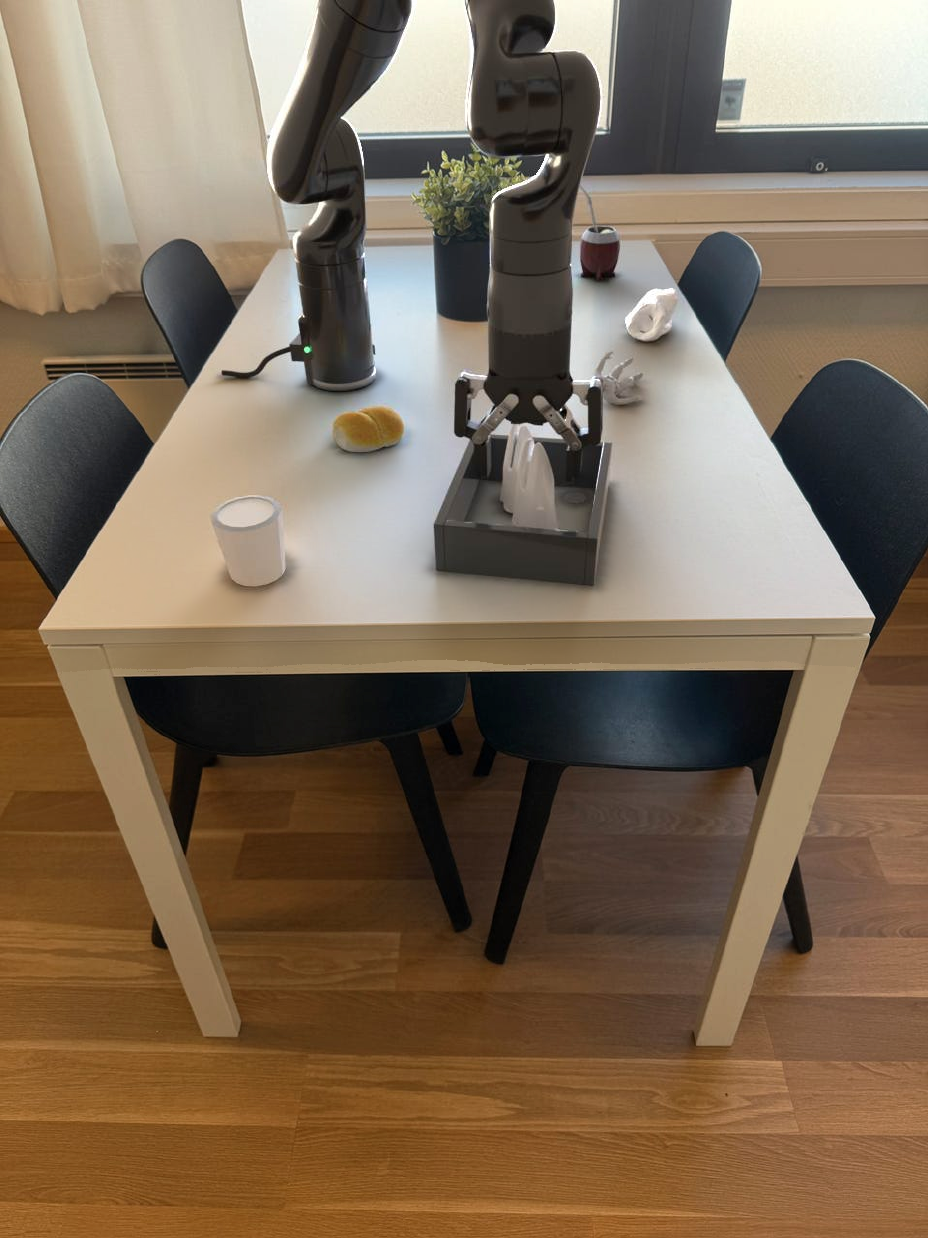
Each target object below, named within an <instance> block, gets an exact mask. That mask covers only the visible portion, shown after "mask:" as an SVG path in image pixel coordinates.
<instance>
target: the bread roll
mask: <svg viewBox="0 0 928 1238" xmlns="http://www.w3.org/2000/svg"><path fill="white" fill-rule="evenodd" d="M404 433H405V425H404V421H403V419H402V417H401V415H400V414H399V413H398V412H397V411H396V410H394V409H392V408H391V407H389V406H385V405H375V406H367V407H363V408H360V409H358V411H345V412H342V413H341V414H339V415H338V416H337V417H336V418H335V420H333V424H332V436H331V438H332V440H333V441H334V442H335V443H336V444H337V446H338V447H339V448H341V449H342V450H345V451H346V452H350V453H369V452H374V451H377V450H379V449H382V448H383V447H386V448H388V447H391V446H394V445H396V444H398V443H399V442H400V441H401V440H402V438H403V436H404Z"/></svg>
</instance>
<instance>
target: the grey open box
mask: <svg viewBox="0 0 928 1238" xmlns="http://www.w3.org/2000/svg"><path fill="white" fill-rule="evenodd" d="M489 436H491V470H490V473H489V476H488V477H481V471H476V469H475V467H474V444H473V442H472V440H470V439H469V440H468V443H467V445H466V447H465V449H464V452H463V454H462V457H461V459H460V462H459V464H458V466H457V468H456V470H455V473H454V475H453V478H452V479H451V483H450V485H449V487H448V489H447V492H446V494H445V496H444V499H443V501H442V503H441V506H440V507H439V511H438V513H437V515H436V518H435V520H434V522H433V540H434V541H433V542H434V558H435V570H436V571H442V572H452V573H463V574H471V575H472V574H473V575H480V576H481V575H482V576H483V575H484V576H492V577H502V578H513V579H522V580H523V579H524V580H534V581H544V582H554V583H555V582H556V583H563V584H564V583H566V584H576V585H584V586H585V585H586V586H594V585H595V580H596V575H597V567H598V561H599V554H600V547H601V542H602V541H601V540H602V534H603V528H604V527H603V526H604V522H605V521H604V520H605V513H606V507H607V500H608V499H607V498H608V493H609V486H610V475H611V465H612V463H611V462H612V453H613V452H612V451H613V442H607V441H601V442H600V443H599V444H598V445H596V446H593V445H587V446H585V447H584V448H583V451H582V467H581V472H580V475H579V477H578V478H574V479H573V483H566V460H567V448H568V445H567V443H566V442H565V441H564V439H563V438H552V437H551V438H550V437H537V436H532V438H533V440H534V444H536V443H541V444H542V446H543V447H544V449H545V452H546V454H547V457H548V459H549V462H550V465H551V469H552V473H553V477H554V486H557V487H569V488H583V489H595V491H594V494H593V495H594V496H593V501H592V507H591V514H590V519H589V526H588V532H586V531H576V530H575V531H574V530H563V529H559V530H553V529H541V528H530V527H518V526H515V525H507V524H506V525H505V524H495V523H494V524H493V523H482V522H472V521H471V522H470V521H465V520H466V517H467V514H468V511H469V509H470V507H471V504H472V501H473V498H474V496H475V493H476V491H477V488H478V485H479V482H480V480H482V481H494V482H503V464H504V458H505V452H506V447H507V442H508V437H509V434H508V435H507V434H495V433H494V434H493V433H491V434H490V435H489ZM564 500H565V501H566V502H567V503H568V504H569V503H570V504H573V505H578V504H582V503H584V502H586V500H587V497H586V495H585V494H584V493H582V492H577V491H572V492H569V493H567V494H565V495H564Z"/></svg>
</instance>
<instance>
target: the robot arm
mask: <svg viewBox="0 0 928 1238" xmlns="http://www.w3.org/2000/svg"><path fill="white" fill-rule="evenodd" d="M462 3H463V9H464V12H465V17H466V20H467V21H466V22H467V25H468V31H469V32H468V33H469V42H470V43H469V44H470V45H469V46H470V61H469V62H470V63H469V64H470V65H469V75H468V82H467V90H466V99H465V122H466V128H467V132H468V135H469V137H470V139H471V141H472V143H473V144H474V146H475V147H476V149H478V150H479V151H480V152H481V153H482V154H484V155H485V156H487V157H488V158H490V159H498V160H499V159H500V160H501V159H516V158H517V159H518V158H528V157H539V156H545V158H544V161H543V163H542V165H541V167H540V169H539V170H538V172H537V173H536V175H534V176H532V177H531V178H530V179H528V180H525V181H523V182H521V183H517V184H515V185H512V186H509V187H507V188H504V189H502V190H501V191H498V192H497V193H496V194H495V195H494V196H493V198H492V199H491V202H490V206H489V207H490V208H489V263H490V264H489V274H488V275H489V276H488V283H487V304H486V317H487V343H488V344H487V347H488V348H487V349H488V350H487V351H488V354H487V355H488V358H487V359H488V372H487V375H486V376H485V375H478V374H477V375H476V374H473V373H472V371H470V370H468V369H463V370H461V372H460V374H459V375H458V377H457V379H456V381H455V383H454V407H453V408H454V410H453V411H454V412H453V413H454V415H453V434H454V435H455V437H457V438H466V439H469V440H472V442H473V444H474V467H475V469H476V471H481V477H488V476H489V473H490V470H491V436H489V435H490V434H493V432H494V431H496V429H497V428H498V427H499V426H500V424H501V423H502V422H503V421H504V420H506V421H508V422H510V424H511V425H512V424H520V425H524V424H529V425H532V426H539V427H543V426H544V424H549V426H550V427H551V428H552V429H553V431H554V432H555V433H556V435H559V436H560V437H561V439H564V441H565V442H566V443H567V445H568V448H567V460H566V483H573V479H574V478H578V477H579V475H580V472H581V467H582V451H583V448H584V447H585V446H587V445H593V446H596V445H598V444H599V443H600V442H602V436H603V430H604V428H603V426H604V398H603V380H602V378H601V377H599V376H595V375H593V376H592V377H590V380H574V379H573V377H572V375H571V371H570V369H571V367H570V366H571V346H572V344H571V343H572V326H573V325H572V324H573V323H572V322H573V300H574V299H573V298H574V286H573V284H574V283H573V275H572V252H573V251H572V250H573V230H574V216H575V209H576V203H577V200H578V197H579V192H580V185H582V180H583V175H584V172H585V169H586V165H587V162H588V159H589V156H590V152H591V149H592V146H593V143H594V140H595V138H596V133H597V129H598V126H599V122H600V117H601V112H602V103H603V102H602V101H603V99H602V98H603V97H602V96H603V95H602V84H601V80H600V76H599V73H598V71H597V68H596V66H595V65H594V63H593V61H592V60H591V58H589V57H588V56H587V55H586V54H585V53H583V52H581V51H579V50H571V49H570V50H554V51H544V50H545V49H546V48H547V47H548V45H549V44H550V43H551V42H552V39H553V38H554V35H555V32H556V27H557V21H558V20H557V19H558V18H557V17H558V15H557V8H556V7H557V5H556V2H555V0H462ZM416 4H417V0H318V2H317V6H316V10H315V14H314V17H313V21H312V25H311V28H310V32H309V35H308V38H307V41H306V43H305V46H304V49H303V53H302V56H301V58H300V61H299V65H298V68H297V70H296V74H295V76H294V79H293V81H292V84H291V86H290V88H289V91H288V93H287V96H286V97H285V100H284V102H283V105H282V107H281V109H280V111H279V114H278V116H277V118H276V120H275V123H274V125H273V127H272V130H271V133H270V136H269V139H268V143H267V150H266V167H267V168H266V169H267V175H268V180H269V183H270V186H271V187H272V190H273V191H274V193H275V194H276V196H277V197H278V198H279V199H280V200H281V201H282V202H284V203H286V204H289V205H292V206H310V205H315V204H318V207H317V209H316V211H315V213H314V214H313V216H312V217H311V218H310V219H309V220H308V222H306V223H305V224H304V225H303V226H301V228H299V229H298V230H297V231H296V232H295V234H294V236H293V237H292V247H293V254H294V255H293V256H294V261H295V268H296V276H297V283H298V290H299V297H300V304H301V312H302V314H301V315H300V316H299V317H298V319H297V323H298V330H299V333H298V334H297V335H296V337H295V338H294V339H292V341H291V342H290V343H289V344H288V345H289V346H286V347H284V348H280V349H278V350H276V351H273V352H271V353H270V354H267V355H266V356H265V357H264V358H263V359H262V360H261V361H260V363H259V365H258V366H256V369H254V370H251V371H247V372H240V371H233V370H227V369H222V370H221V376H225V377H234V378H239V379H249V378H253V377H255V376H258V375H259V374H260V373H261V372H263V370H264V369H265V368H266V366H267V364H268V363H269V362H271V361H272V360H274V359H275V358H277V357H279V356H282V355H285V354H288V353H290V359H291V362H300V363H303V366H304V373H305V374H304V375H305V379H306V380H305V381H306V385H309V386H314V387H317V388H318V389H321V390H324V391H334V392H344V391H353V390H356V389H357V390H358V389H360V388H361V389H362V388H364V387H366V386H368V385H370V384H372V383H373V382H374V381H375V380H376V378H377V373H376V372H377V370H376V365H375V363H376V362H375V356H376V346H375V344H373V343H374V342H373V334H372V323H371V311H370V302H369V301H370V300H369V290H368V279H367V267H366V258H365V257H366V255H365V247H364V246H365V245H364V243H365V238H366V233H367V223H368V222H367V205H366V204H367V201H366V177H365V161H364V154H363V151H362V146H361V142H360V140H359V137H358V134H357V132H356V131H355V128H354V127H353V126H352V124H351V123H350V122H349V121H348V120H347V119H346V118H344V116H345V115H346V114H347V112H348V111H350V110H351V108H352V107H353V106H354V105H355V104H357V102H358V101H359V100H361V99H362V98H363V96H364V95H365V94H366V93H367V92H369V90H371V88H372V87H373V86H374V85H375V84H376V83H377V82H378V81H379V80H380V78H381V77H383V75H384V74H385V73H386V71H387V70H388V69H389V67H391V64H392V63H393V61H394V60H395V58H396V55H397V54H398V51H399V49H400V47H401V45H402V42H403V39H404V37H405V35H406V33H407V30H408V28H409V24H410V22H411V20H412V17H413V14H414V11H415V9H416V6H417V5H416ZM481 390H483V391H484V393H485V395H486V396H487V397H488V398H489V400H490V402H491V403H492V406H490V408H489V410H488V411H487V413H486V414H485V415H484V416H483V417H482V418H481V420H480V421H479V422H477V421H474V420H472V400H474V399H476V398H477V396H478V393H479V391H481ZM573 395H576V396H578V398H579V402H580V404H581V405H583V406H587V427H583V428H582V427H581V426H580V425H579V424H578V422H577V421H576V419H575V418H574V416H573V413H572V411H571V410H570V409H569V407H568V405H567V403H568V402H569V400H570V399H571V398H572V396H573Z"/></svg>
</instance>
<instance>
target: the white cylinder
mask: <svg viewBox="0 0 928 1238" xmlns="http://www.w3.org/2000/svg"><path fill="white" fill-rule="evenodd" d="M210 521H211V525H212V528H213V530H214V534H215V537H216V539H217V542H218V544H219V548H220V550H221V553H222V556H223V559H224V562H225V564H226V568H227V570H228V573H229V577H230V579H231V580H233V581H234V583H235V584H237V585H241V586H243V587H255V588H257V587H261V586H266V585H269V584H272V583H273V582H276V581H277V580H279V579H280V578H281V577H282V576H283V575H284V574H285V571H286V569H287V567H286V553H285V538H284V537H285V536H284V525H283V524H284V523H283V511H282V507H281V503H280V502H279V501H277V500H276V499H275V498H272V497H269V496H266V495H259V494H258V495H256V494H254V495H253V494H248V495H243V496H237V497H233V498H231V499H228V500H226V501H223V502H222V503H220V504H219V505H218V506H216V507H214V510H213V511H212V513H211V514H210Z"/></svg>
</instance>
